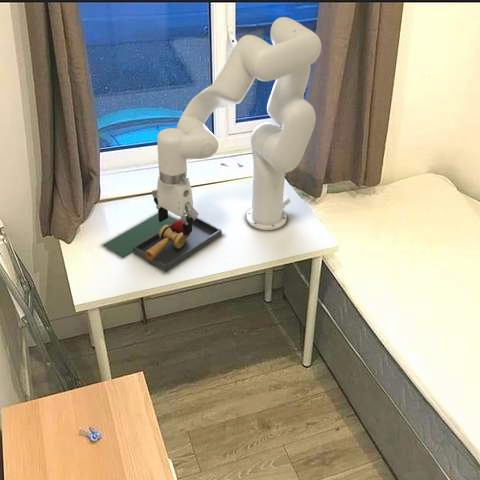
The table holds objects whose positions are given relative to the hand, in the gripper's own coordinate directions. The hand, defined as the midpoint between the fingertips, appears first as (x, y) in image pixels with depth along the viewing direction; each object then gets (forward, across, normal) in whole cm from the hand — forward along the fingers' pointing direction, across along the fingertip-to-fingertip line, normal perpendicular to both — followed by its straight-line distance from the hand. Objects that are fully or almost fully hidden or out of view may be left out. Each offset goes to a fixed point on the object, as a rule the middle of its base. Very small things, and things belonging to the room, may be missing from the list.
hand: (175, 226), depth 172 cm
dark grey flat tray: (+6, 0, -1) cm, 7 cm away
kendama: (+6, 0, +3) cm, 6 cm away
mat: (+7, +11, +3) cm, 13 cm away
